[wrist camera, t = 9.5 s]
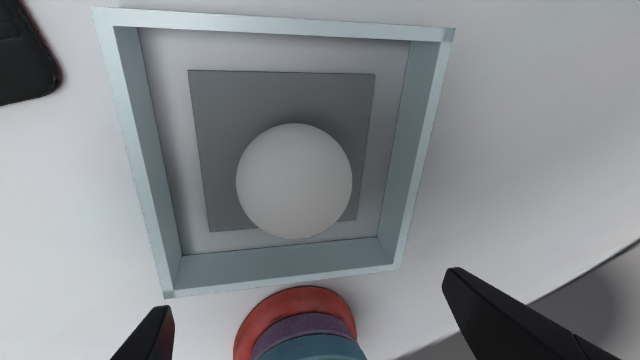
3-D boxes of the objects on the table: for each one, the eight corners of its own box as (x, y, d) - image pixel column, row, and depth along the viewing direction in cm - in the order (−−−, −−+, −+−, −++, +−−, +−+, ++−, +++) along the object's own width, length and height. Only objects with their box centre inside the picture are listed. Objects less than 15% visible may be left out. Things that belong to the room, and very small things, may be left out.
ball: (338, 108, 18) (378, 147, 13) (331, 196, 21) (361, 257, 16) (232, 109, 17) (229, 153, 12) (239, 203, 19) (239, 272, 14)
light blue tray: (423, 26, 17) (455, 28, 15) (382, 242, 24) (399, 269, 22) (118, 7, 14) (89, 6, 11) (174, 263, 21) (164, 298, 18)
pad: (373, 74, 18) (375, 74, 18) (354, 217, 22) (356, 220, 22) (188, 69, 16) (187, 70, 15) (210, 229, 20) (209, 232, 20)
